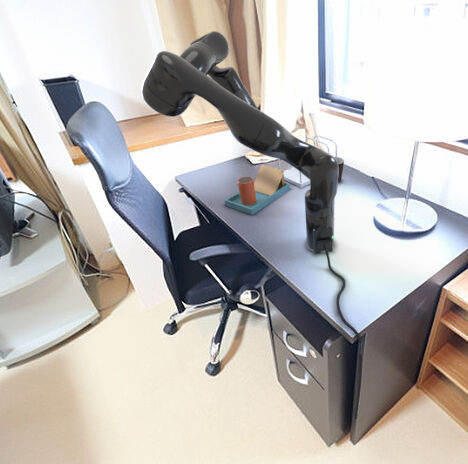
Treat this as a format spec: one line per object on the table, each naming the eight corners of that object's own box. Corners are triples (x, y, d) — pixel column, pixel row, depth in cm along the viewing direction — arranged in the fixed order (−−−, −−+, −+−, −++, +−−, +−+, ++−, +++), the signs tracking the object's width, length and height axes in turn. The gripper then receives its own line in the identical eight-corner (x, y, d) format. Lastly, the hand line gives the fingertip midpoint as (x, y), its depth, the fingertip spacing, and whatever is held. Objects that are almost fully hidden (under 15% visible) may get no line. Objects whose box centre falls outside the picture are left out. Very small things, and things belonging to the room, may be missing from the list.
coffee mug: (346, 179, 150) (347, 159, 144) (337, 186, 144) (338, 165, 138) (325, 173, 155) (325, 154, 149) (316, 180, 149) (315, 160, 143)
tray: (252, 215, 126) (251, 209, 124) (225, 205, 132) (224, 200, 130) (290, 188, 143) (289, 183, 142) (265, 181, 150) (264, 176, 148)
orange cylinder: (255, 210, 133) (239, 201, 123) (244, 206, 136) (227, 197, 126) (266, 184, 134) (250, 174, 124) (254, 181, 137) (238, 170, 127)
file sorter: (315, 161, 168) (314, 132, 159) (339, 171, 157) (340, 140, 148) (277, 176, 154) (274, 145, 145) (300, 188, 144) (299, 155, 134)
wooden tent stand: (272, 198, 136) (270, 177, 131) (251, 191, 141) (248, 171, 136) (285, 189, 143) (284, 169, 137) (265, 183, 148) (262, 164, 142)
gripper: (220, 112, 102) (246, 153, 113) (249, 108, 94) (274, 153, 104) (234, 99, 106) (259, 140, 116) (263, 94, 97) (287, 139, 108)
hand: (266, 146), depth 110 cm, fingers open, 8 cm apart
